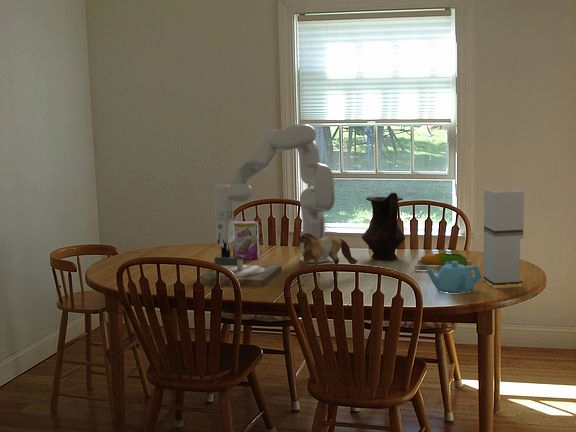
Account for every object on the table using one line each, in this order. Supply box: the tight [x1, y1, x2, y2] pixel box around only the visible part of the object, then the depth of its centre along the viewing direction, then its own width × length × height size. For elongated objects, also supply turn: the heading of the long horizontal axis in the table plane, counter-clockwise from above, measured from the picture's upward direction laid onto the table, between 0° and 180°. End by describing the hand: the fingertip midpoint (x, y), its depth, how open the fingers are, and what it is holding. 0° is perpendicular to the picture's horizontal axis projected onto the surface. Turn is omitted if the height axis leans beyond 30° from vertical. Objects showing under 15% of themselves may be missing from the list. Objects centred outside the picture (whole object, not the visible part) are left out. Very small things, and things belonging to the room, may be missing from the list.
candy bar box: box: [232, 221, 260, 260], centre depth 355 cm, size 11×5×16 cm, turn 84°
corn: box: [420, 250, 468, 266], centre depth 324 cm, size 7×8×20 cm
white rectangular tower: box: [483, 187, 525, 285], centre depth 294 cm, size 11×11×35 cm
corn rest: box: [414, 258, 473, 271], centre depth 324 cm, size 22×12×2 cm, turn 75°
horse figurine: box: [297, 233, 359, 286], centre depth 309 cm, size 31×8×21 cm, turn 133°
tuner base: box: [199, 263, 283, 287], centre depth 320 cm, size 27×26×4 cm
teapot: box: [426, 261, 483, 293], centre depth 288 cm, size 15×15×11 cm
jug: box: [361, 192, 406, 262], centre depth 343 cm, size 21×18×30 cm
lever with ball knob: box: [214, 255, 244, 270], centre depth 320 cm, size 12×4×6 cm, turn 75°
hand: (226, 259), depth 327 cm, fingers closed
